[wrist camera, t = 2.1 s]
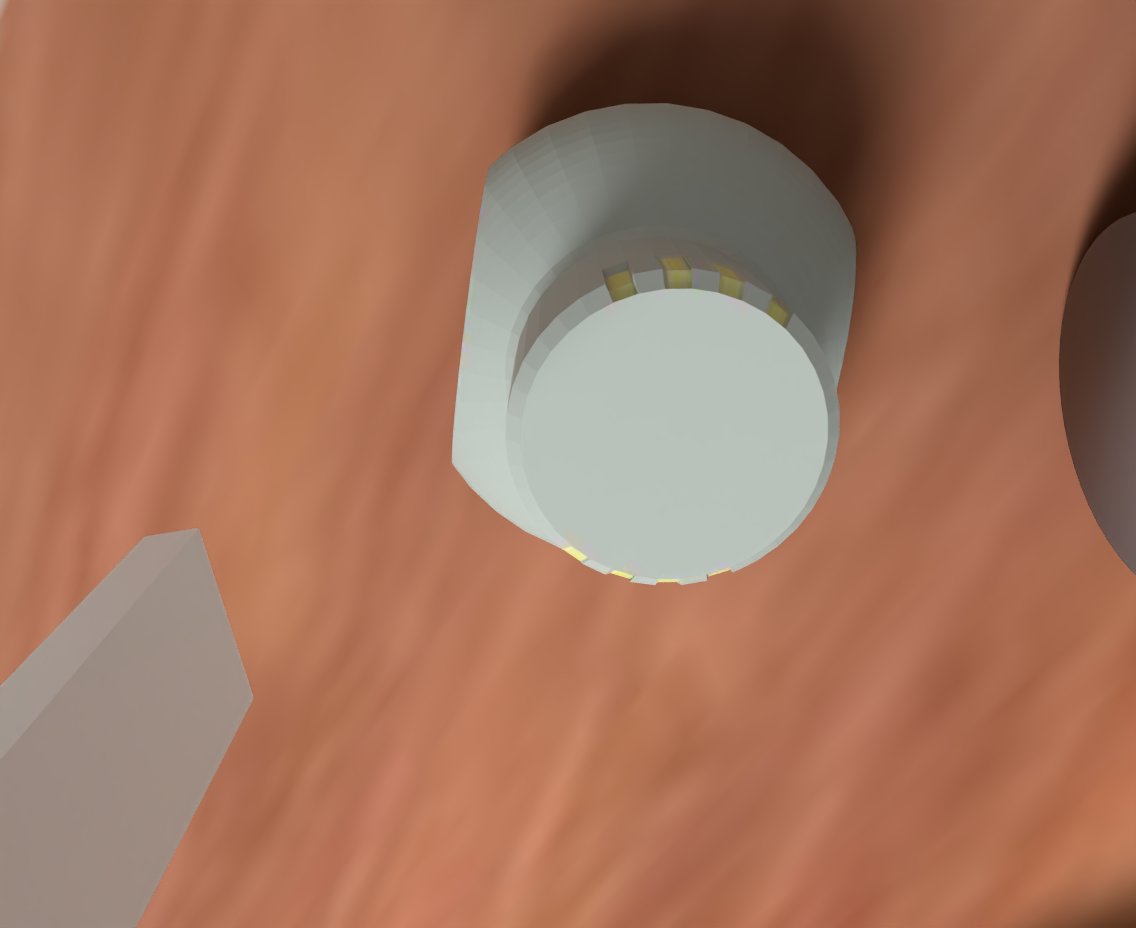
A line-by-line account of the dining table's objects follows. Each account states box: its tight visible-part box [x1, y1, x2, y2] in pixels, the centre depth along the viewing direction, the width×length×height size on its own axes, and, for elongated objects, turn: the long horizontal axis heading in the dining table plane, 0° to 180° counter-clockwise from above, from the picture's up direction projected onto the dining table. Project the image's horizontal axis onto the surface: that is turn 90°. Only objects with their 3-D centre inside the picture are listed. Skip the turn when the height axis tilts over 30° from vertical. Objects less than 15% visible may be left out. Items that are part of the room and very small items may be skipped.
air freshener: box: [452, 103, 856, 585], centre depth 21 cm, size 11×8×10 cm
